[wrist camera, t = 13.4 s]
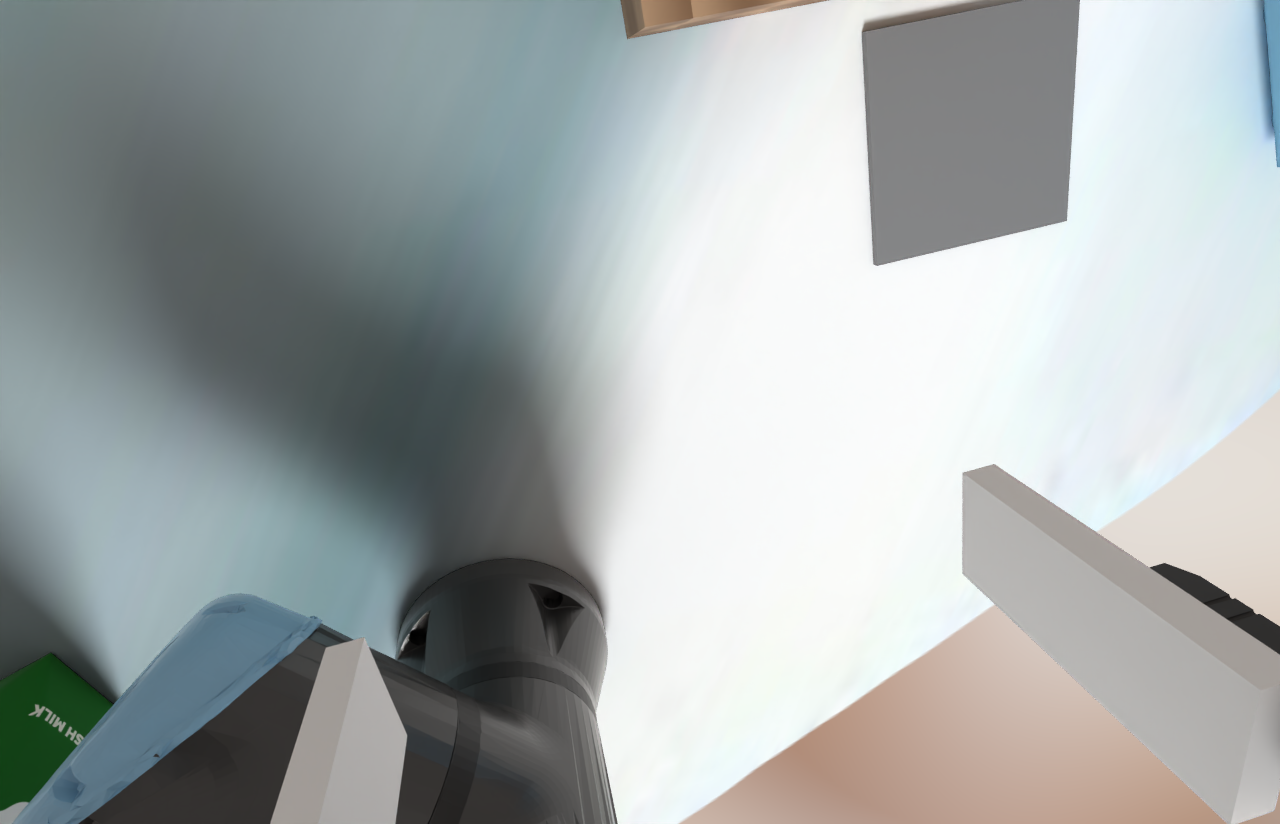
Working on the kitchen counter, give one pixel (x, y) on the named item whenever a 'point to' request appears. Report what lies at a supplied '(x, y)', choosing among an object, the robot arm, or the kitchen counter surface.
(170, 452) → the kitchen counter surface
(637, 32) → the hole block
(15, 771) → the milk carton
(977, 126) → the mat
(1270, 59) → the teakettle
